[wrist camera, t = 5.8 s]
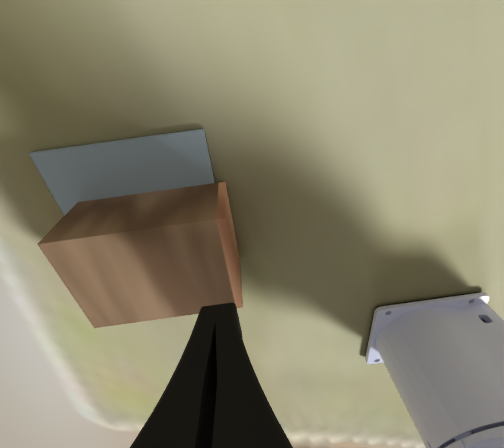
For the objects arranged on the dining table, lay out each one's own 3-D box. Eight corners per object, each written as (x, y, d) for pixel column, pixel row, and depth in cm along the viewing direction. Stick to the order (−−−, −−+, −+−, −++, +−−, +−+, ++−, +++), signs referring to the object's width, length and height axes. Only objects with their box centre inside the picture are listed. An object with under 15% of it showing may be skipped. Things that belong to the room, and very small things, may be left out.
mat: (203, 128, 14) (203, 129, 14) (236, 289, 21) (237, 292, 21) (32, 152, 14) (28, 153, 14) (119, 306, 21) (117, 309, 21)
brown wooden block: (225, 217, 12) (37, 244, 12) (243, 307, 16) (94, 328, 16) (225, 181, 16) (77, 202, 16) (240, 261, 19) (117, 278, 19)
